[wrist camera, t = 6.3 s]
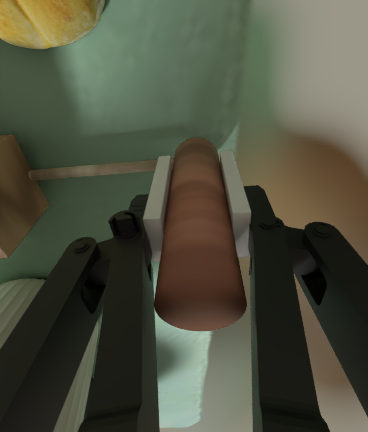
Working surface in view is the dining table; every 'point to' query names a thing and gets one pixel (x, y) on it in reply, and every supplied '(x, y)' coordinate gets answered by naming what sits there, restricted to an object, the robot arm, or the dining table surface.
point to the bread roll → (47, 21)
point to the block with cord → (173, 232)
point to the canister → (77, 397)
